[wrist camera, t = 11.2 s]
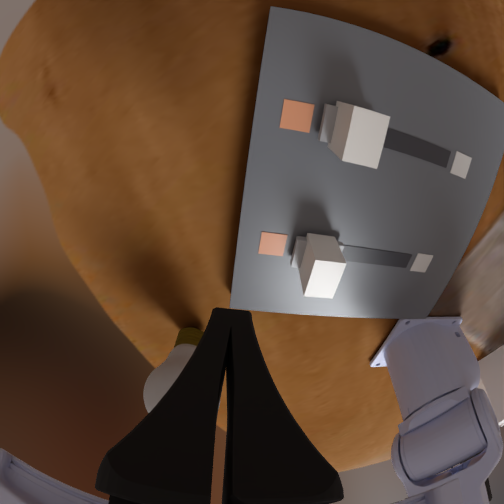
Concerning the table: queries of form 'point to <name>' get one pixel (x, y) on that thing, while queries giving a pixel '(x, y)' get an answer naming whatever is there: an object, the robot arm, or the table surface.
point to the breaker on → (318, 264)
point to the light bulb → (171, 366)
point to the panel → (361, 171)
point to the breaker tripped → (354, 133)
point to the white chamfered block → (494, 381)
